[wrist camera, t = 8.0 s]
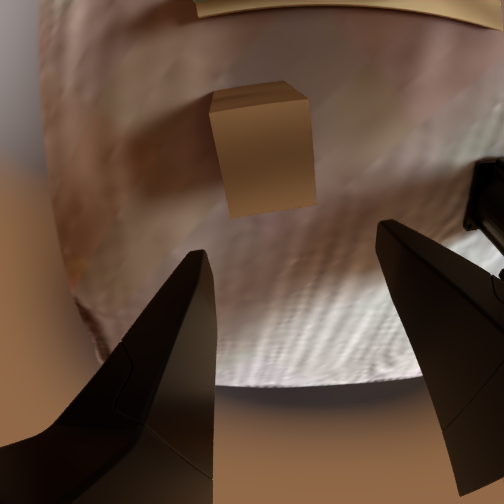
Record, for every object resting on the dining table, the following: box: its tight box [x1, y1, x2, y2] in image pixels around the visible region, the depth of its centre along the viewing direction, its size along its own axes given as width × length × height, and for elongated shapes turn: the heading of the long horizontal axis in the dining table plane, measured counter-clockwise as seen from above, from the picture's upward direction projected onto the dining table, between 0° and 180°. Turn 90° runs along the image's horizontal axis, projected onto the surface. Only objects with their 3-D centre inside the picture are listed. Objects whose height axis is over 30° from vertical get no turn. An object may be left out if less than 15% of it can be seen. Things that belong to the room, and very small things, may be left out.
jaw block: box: [209, 81, 316, 218], centre depth 16 cm, size 5×4×6 cm
